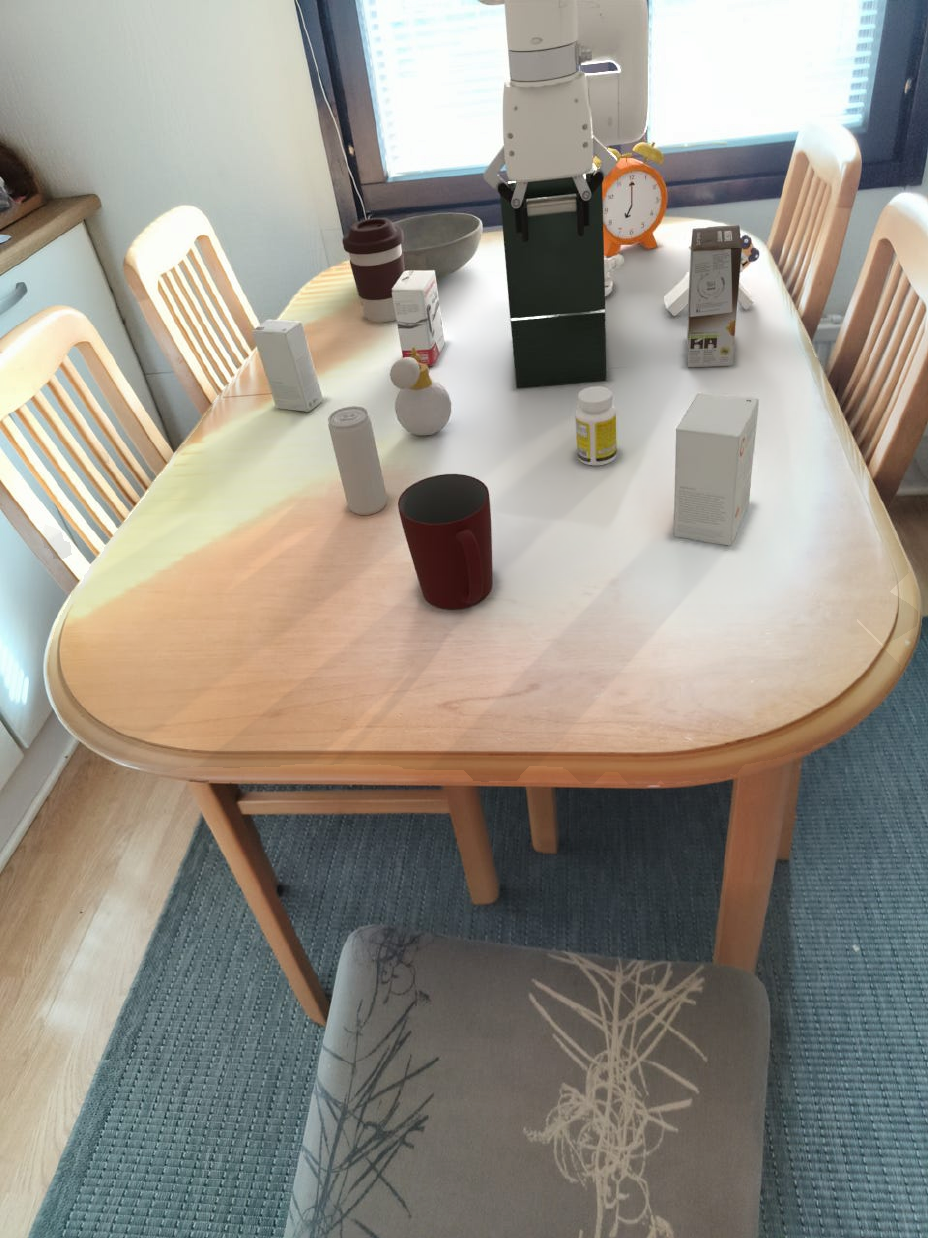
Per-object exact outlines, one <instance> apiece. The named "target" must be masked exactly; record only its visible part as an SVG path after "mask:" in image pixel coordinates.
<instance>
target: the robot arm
mask: <svg viewBox="0 0 928 1238" xmlns="http://www.w3.org/2000/svg"><path fill="white" fill-rule="evenodd" d="M477 1H478V2H479V3H481V4H482V5H486V6H500V5H504V14H505V30H506V42H507V54H508V55H507V56H508V67H509V77H510V78H509V80H506V81H505V82H504V84H503V94H502V137H503V139H502V140H503V145H502V147H501V148H500V150H499V151H498V152H497V154H496V155H495V156H494V158H493V160H491V162H490V163H489V165H488V166H487V168H486V169H485V170H484V172H483V176H482V177H483V180H484V181H485V183H487V184H488V185H489V186H490V187H492V188H493V189H494V190H495V191H497V192H498V194H499V196H500V195H502V196H503V197H504V198H505V199H506V200H507V201H508V202H510V203H511V204H512V206H513V207H514V208H515V221H516V233H517V234H518V233H522V239H523V242H527V241H529V231H528V217H527V205H526V202H525V200H524V194H525V190H526V187H527V184H528V182H531V181H541V180H550V179H558V178H567V177H572V178H573V180H574V182H575V184H576V187H577V189H578V196H576V201H577V229H578V235H580V236H584V226H589V199H590V198H591V195H592V194H593V193H594V192H595V190H596V189H597V188H598V187H599V186H600V184H601V183H602V182H603V180H604V179H605V177H606V176H607V175H608V174H609V173H610V172H611V171H612V169H613V168H614V167H615V166H616V164H617V160H616V157H615V156H614V155H613V154H612V153H611V152H610V151H609V150H608V149H607V148H608V146H609V147H610V146H619V145H626V144H631V143H635V142H638V141H639V140H640V139H642V137H644V134H645V133H646V130H647V127H648V122H649V112H650V93H649V92H650V55H649V54H650V27H649V26H650V25H649V9H648V8H649V7H648V2H647V0H477ZM600 63H613V64H614V65H615V66H616V67H617V70H614V71H604V72H603V71H602V72H595V73H586V72H585V71H581V70H580V66H583V65H584V66H585V65H593V64H600ZM596 156H597V157H598V158H599V159H600V160H601V164H600V165H599V167H598V168H596V166H595V165H594V163H593V159H594V157H596ZM504 167H505V173H506V176H507V178H508V180H510V181H511V182H516V183H515V186H514V188H513V187H512V186H511V185H510V184H509V183H508V182H509V181H507V180H505V179H503V177H502V176H500V174H499V172H501V170H502V169H503V168H504ZM586 173H592V174H591V176H590V177H589V178H588V179H587V178H586V176H585V174H586ZM624 261H625V260H624V257H623V256H622V254H621V253H618V254H617V255H615V256H611V257H606V256H605V255H604V273H605V298H606V297H607V296H609V295H610V294H611V292H612V291H613V280H612V279H611V278H610V277H609V276H608V274H609V273H610V272H611V270H614V269H616V268H620V267H621V266H623V265H624Z"/></svg>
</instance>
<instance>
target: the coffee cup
mask: <svg viewBox="0 0 928 1238" xmlns="http://www.w3.org/2000/svg"><path fill="white" fill-rule="evenodd" d="M392 223H393V221H391V220H390V219H389V218H386V217H373V218H367V219H363V220H359V221H357V222H355V223H353V224H352V225H350V226H349V230H348V233H346V234H345V235H343V237H342V241H341V242H342V246H343V250H344V251H345V252H346V253H348V255H349V265H350V269H351V272H352V276H353V280H354V283H355V287H356V292H357V295H358V296H359V298H360V302H361V305H362V309H363V313H364V316H365V318H366V320H367V321H370V322H371V323H376V324H383V323H390V322H394V321H397V320H396V314H395V308H394V303H393V297H392V291H393V290H392V288H393V287H394V285H395V284H396V282H397V281H398V279H399V278H400V276H401V275H402V274H403V272H404V271H405V267H404V257H403V252H402V250H401V243H402V242H403V241H404V236H403V230H402V229H401V228H400V227H398V226H395V225H393V224H392Z"/></svg>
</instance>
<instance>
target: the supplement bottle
mask: <svg viewBox="0 0 928 1238" xmlns="http://www.w3.org/2000/svg"><path fill="white" fill-rule="evenodd" d="M575 434H576V447H577V448H576V450H577V459H578V460H579V462H581V463H582V464H584V465H587V466H595V467H596V466H604V465H607V464H610V463H611V462H613V461H614V460H615V459H616V458H617V455H618V454H617V451H618V449H617V447H618V445H617V444H618V443H617V409H616V407H615V406H614V404H613V392H612V390H611V389H610V388H609V387H608V388H607V387H605V386H599V385H597V386H588V387H585V388H583V389H581V390H580V391H579V392H578V394H577V408H576V410H575Z"/></svg>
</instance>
